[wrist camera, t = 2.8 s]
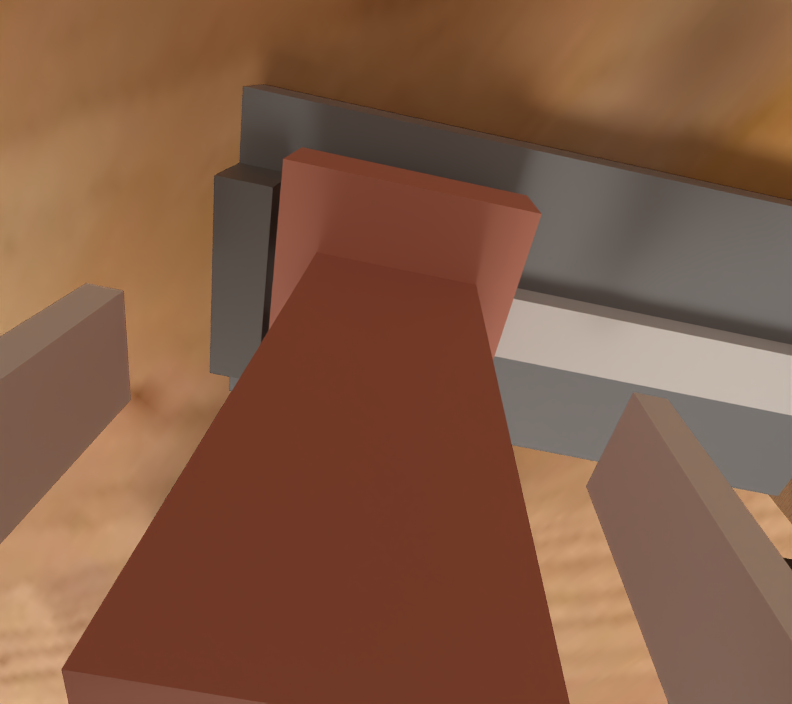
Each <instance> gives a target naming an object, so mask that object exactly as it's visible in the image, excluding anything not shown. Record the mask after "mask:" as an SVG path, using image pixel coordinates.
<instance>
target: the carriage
mask: <svg viewBox="0 0 792 704" xmlns="http://www.w3.org/2000/svg"><path fill="white" fill-rule="evenodd" d="M541 215H542V214H541V212H540V211H539V210H538V209H537V207H536V206H535V205H534V204H533V202H532V201H531V200H530V199H529V197H528V196H527V195H523V194H518V193H513V192H509V191H504V190H499V189H495V188H490V187H485V186H481V185H476V184H471V183H467V182H462V181H457V180H453V179H448V178H444V177H439V176H434V175H430V174H425V173H420V172H416V171H411V170H406V169H402V168H397V167H392V166H388V165H383V164H378V163H374V162H369V161H364V160H360V159H355V158H350V157H346V156H341V155H336V154H332V153H327V152H323V151H318V150H313V149H309V148H304V147H302V148H300V149H298V150H297V151H295V152H293V153H292V154H290V155H288V156H287V157H285V158H284V159H283V166H282V178H281V190H280V202H279V214H278V226H277V238H276V249H275V261H274V273H273V285H272V297H271V309H270V321H269V331H268V333H267V334H266V336H265V338H264V339H263V341H262V342H261V344H260V346H259V347H258V349H257V351H256V352H255V354H254V355H253V357H252V359H251V360H250V362H249V364H248V365H247V367H246V369H245V370H244V372H243V373H242V375H241V377H240V378H239V380H238V382H237V383H236V385H235V387H234V388H233V390H232V391H231V393H230V395H229V396H228V398H227V400H226V401H225V403H224V405H223V406H222V408H221V409H220V411H219V413H218V414H217V416H216V418H215V419H214V421H213V423H212V424H211V426H210V427H209V429H208V431H207V432H206V434H205V436H204V437H203V439H202V440H201V442H200V444H199V445H198V447H197V449H196V450H195V452H194V454H193V455H192V457H191V458H190V460H189V462H188V463H187V465H186V467H185V468H184V470H183V472H182V473H181V475H180V476H179V478H178V480H177V481H176V483H175V485H174V486H173V488H172V490H171V491H170V493H169V494H168V496H167V498H166V499H165V501H164V503H163V504H162V506H161V508H160V509H159V511H158V512H157V514H156V516H155V517H154V519H153V521H152V522H151V524H150V526H149V527H148V529H147V530H146V532H145V534H144V535H143V537H142V539H141V540H140V542H139V543H138V545H137V547H136V548H135V550H134V552H133V553H132V555H131V557H130V558H129V560H128V561H127V563H126V565H125V566H124V568H123V570H122V571H121V573H120V575H119V576H118V578H117V579H116V581H115V583H114V584H113V586H112V588H111V589H110V591H109V593H108V594H107V596H106V597H105V599H104V601H103V602H102V604H101V606H100V607H99V609H98V611H97V612H96V614H95V615H94V617H93V619H92V620H91V622H90V624H89V625H88V627H87V629H86V630H85V632H84V633H83V635H82V637H81V638H80V640H79V642H78V643H77V645H76V646H75V648H74V650H73V651H72V653H71V655H70V656H69V658H68V660H67V661H66V663H65V664H64V666H63V668H62V674H63V679H64V684H65V688H66V693H67V698H68V703H69V704H570V703H569V699H568V694H567V690H566V685H565V681H564V676H563V672H562V667H561V663H560V658H559V654H558V649H557V645H556V640H555V636H554V631H553V627H552V623H551V618H550V614H549V609H548V605H547V600H546V596H545V591H544V587H543V582H542V578H541V573H540V569H539V564H538V560H537V555H536V551H535V546H534V542H533V537H532V533H531V529H530V524H529V520H528V515H527V511H526V506H525V502H524V497H523V493H522V488H521V484H520V479H519V475H518V470H517V466H516V461H515V457H514V452H513V448H512V443H511V439H510V435H509V430H508V426H507V421H506V417H505V412H504V408H503V403H502V399H501V394H500V390H499V385H498V381H497V376H496V372H495V367H494V363H493V359H494V356H495V353H496V350H497V347H498V344H499V341H500V338H501V335H502V332H503V329H504V326H505V323H506V320H507V317H508V314H509V311H510V308H511V305H512V302H513V299H514V296H515V293H516V290H517V287H518V284H519V281H520V278H521V275H522V272H523V269H524V266H525V263H526V260H527V257H528V254H529V251H530V248H531V245H532V242H533V239H534V236H535V233H536V230H537V227H538V224H539V221H540V218H541Z"/></svg>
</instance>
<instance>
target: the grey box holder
mask: <svg viewBox="0 0 792 704" xmlns="http://www.w3.org/2000/svg"><path fill="white" fill-rule="evenodd" d="M768 495H769V494H768ZM769 496H770V497H771V498H772V500H773V501H774V502H775V503H776V505H777V506H778V507H779V508H780V510H781V511H782V512H783V513H784V515H785V516H786V517H787V518H788V520H789V521H790V522H791V523H792V478H791V480H790V481H789V482H788V484H787V485H786V486H785V487H784V489H783V490H782V491H781V493H780V494H779V495H778V496H775V495H769Z"/></svg>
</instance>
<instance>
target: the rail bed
mask: <svg viewBox="0 0 792 704" xmlns="http://www.w3.org/2000/svg"><path fill="white" fill-rule="evenodd" d="M302 147H304V148H309V149H313V150H318V151H323V152H327V153H332V154H336V155H341V156H346V157H350V158H355V159H360V160H364V161H369V162H374V163H378V164H383V165H388V166H392V167H397V168H402V169H406V170H411V171H416V172H420V173H425V174H430V175H434V176H439V177H444V178H448V179H453V180H457V181H462V182H467V183H471V184H476V185H481V186H485V187H490V188H495V189H499V190H504V191H509V192H513V193H518V194H523V195H527V196H528V197H529V199H530V200H531V201H532V202H533V204H534V205H535V206H536V207H537V209H538V210H539V211H540V212H541V214H542V215H541V218H540V221H539V224H538V227H537V230H536V233H535V236H534V239H533V242H532V245H531V248H530V251H529V254H528V257H527V260H526V263H525V266H524V269H523V272H522V275H521V278H520V281H519V284H518V287H517V290H516V293H515V296H514V299H513V302H512V305H511V308H510V311H509V314H508V317H507V320H506V323H505V326H504V329H503V332H502V335H501V338H500V341H499V344H498V347H497V350H496V353H495V356H494V359H493V363H494V367H495V372H496V376H497V381H498V385H499V390H500V394H501V399H502V403H503V408H504V412H505V417H506V421H507V426H508V430H509V435H510V439H511V443H512V445H514V446H519V447H525V448H530V449H535V450H540V451H545V452H551V453H556V454H561V455H566V456H572V457H577V458H582V459H587V460H592V461H598V462H599V460H600V458H601V456H602V454H603V452H604V450H605V448H606V446H607V444H608V442H609V440H610V438H611V436H612V434H613V432H614V430H615V428H616V426H617V424H618V422H619V420H620V418H621V416H622V414H623V412H624V410H625V408H626V406H627V404H628V402H629V400H630V398H631V396H632V394H633V392H635V393H640V394H645V395H650V396H655V397H660V398H665V399H668V400H669V402H670V403H671V404H672V406H673V407H674V409H675V410H676V411H677V413H678V414H679V416H680V417H681V418H682V420H683V421H684V422H685V424H686V425H687V427H688V428H689V429H690V431H691V432H692V433H693V435H694V436H695V438H696V439H697V440H698V442H699V443H700V444H701V446H702V447H703V449H704V450H705V451H706V453H707V454H708V455H709V457H710V458H711V460H712V461H713V462H714V464H715V465H716V466H717V468H718V469H719V471H720V472H721V473H722V475H723V476H724V477H725V479H726V480H727V482H728V483H729V484H730V486H731V487H733V488H738V489H743V490H749V491H754V492H759V493H764V494H769V495H775V496H778V495H779V494H780V493H781V491H782V490H783V489H784V487H785V486H786V485H787V484H788V482H789V481H790V480H791V478H792V200H788V199H783V198H778V197H774V196H769V195H765V194H760V193H756V192H751V191H747V190H742V189H738V188H733V187H728V186H724V185H719V184H715V183H710V182H706V181H701V180H697V179H692V178H687V177H683V176H678V175H674V174H669V173H665V172H660V171H656V170H651V169H646V168H642V167H637V166H633V165H628V164H624V163H619V162H615V161H610V160H606V159H601V158H596V157H592V156H587V155H583V154H578V153H574V152H569V151H565V150H560V149H555V148H551V147H546V146H542V145H537V144H533V143H528V142H524V141H519V140H514V139H510V138H505V137H501V136H496V135H492V134H487V133H483V132H478V131H474V130H469V129H464V128H460V127H455V126H451V125H446V124H442V123H437V122H433V121H428V120H423V119H419V118H414V117H410V116H405V115H401V114H396V113H392V112H387V111H383V110H378V109H373V108H369V107H364V106H360V105H355V104H351V103H346V102H342V101H337V100H332V99H328V98H323V97H319V96H314V95H310V94H305V93H301V92H296V91H291V90H287V89H282V88H278V87H273V86H269V85H264V84H263V85H251V86H243V98H242V120H241V142H240V163H238V164H236V165H234V166H232V167H230V168H228V169H226V170H224V171H222V172H220V173H218V174H216V175H214V213H213V256H212V300H211V343H210V373H213V374H218V375H223V376H228V377H230V384H229V391H232V390H233V388H234V387H235V385H236V383H237V382H238V380H239V378H240V377H241V375H242V373H243V372H244V370H245V369H246V367H247V365H248V364H249V362H250V360H251V359H252V357H253V355H254V354H255V352H256V351H257V349H258V347H259V346H260V344H261V342H262V341H263V339H264V338H265V336H266V334H267V333H268V331H269V321H270V309H271V297H272V285H273V273H274V261H275V249H276V238H277V226H278V214H279V202H280V190H281V178H282V166H283V159H284V158H285V157H287V156H288V155H290V154H292V153H293V152H295V151H297V150H298V149H300V148H302Z"/></svg>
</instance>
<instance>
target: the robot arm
mask: <svg viewBox="0 0 792 704" xmlns="http://www.w3.org/2000/svg"><path fill="white" fill-rule="evenodd" d="M130 400H131V395H130V380H129V365H128V350H127V335H126V320H125V305H124V291H123V290H118V289H113V288H108V287H103V286H98V285H93V284H88V283H85V284H84V285H82V286H81V287H79V288H77V289H76V290H74V291H73V292H71V293H69V294H68V295H66V296H65V297H63V298H61V299H60V300H58V301H56V302H55V303H53V304H52V305H50V306H48V307H47V308H45V309H44V310H42V311H40V312H39V313H37V314H36V315H34V316H32V317H31V318H29V319H28V320H26V321H24V322H23V323H21V324H20V325H18V326H16V327H15V328H13V329H11V330H10V331H8V332H7V333H5V334H3V335H2V336H0V544H1V543H2V542H3V540H4V539H5V538H6V537H7V536H8V535H9V534H10V533H11V532H12V530H13V529H14V528H15V527H16V526H17V525H18V524H19V523H20V522H21V521H22V519H23V518H24V517H25V516H26V515H27V514H28V513H29V512H30V511H31V509H32V508H33V507H34V506H35V505H36V504H37V503H38V502H39V501H40V499H41V498H42V497H43V496H44V495H45V494H46V493H47V492H48V491H49V490H50V488H51V487H52V486H53V485H54V484H55V483H56V482H57V481H58V480H59V478H60V477H61V476H62V475H63V474H64V473H65V472H66V471H67V470H68V469H69V467H70V466H71V465H72V464H73V463H74V462H75V461H76V460H77V459H78V457H79V456H80V455H81V454H82V453H83V452H84V451H85V450H86V449H87V447H88V446H89V445H90V444H91V443H92V442H93V441H94V440H95V439H96V438H97V436H98V435H99V434H100V433H101V432H102V431H103V430H104V429H105V428H106V426H107V425H108V424H109V423H110V422H111V421H112V420H113V419H114V418H115V416H116V415H117V414H118V413H119V412H120V411H121V410H122V409H123V408H124V407H125V405H126V404H127V403H128V402H129V401H130ZM586 487H587V490H588V492H589V495H590V497H591V500H592V503H593V505H594V508H595V511H596V513H597V516H598V519H599V521H600V524H601V526H602V529H603V532H604V534H605V537H606V540H607V542H608V545H609V548H610V550H611V553H612V555H613V558H614V561H615V563H616V566H617V569H618V571H619V574H620V577H621V579H622V582H623V584H624V587H625V590H626V592H627V595H628V598H629V600H630V603H631V606H632V608H633V611H634V614H635V616H636V619H637V621H638V624H639V627H640V629H641V632H642V635H643V637H644V640H645V643H646V645H647V648H648V650H649V653H650V656H651V658H652V661H653V664H654V666H655V669H656V672H657V674H658V677H659V679H660V682H661V685H662V687H663V690H664V693H665V695H666V698H667V701H668V703H669V704H792V559H787V558H783V557H782V556H781V555H780V553H779V552H778V550H777V549H776V548H775V546H774V545H773V543H772V542H771V541H770V539H769V538H768V537H767V535H766V534H765V532H764V531H763V530H762V528H761V527H760V526H759V524H758V523H757V521H756V520H755V519H754V517H753V516H752V515H751V513H750V512H749V510H748V509H747V508H746V506H745V505H744V504H743V502H742V501H741V499H740V498H739V497H738V495H737V494H736V493H735V491H734V490H733V488H732V487H731V486H730V484H729V483H728V482H727V480H726V479H725V477H724V476H723V475H722V473H721V472H720V471H719V469H718V468H717V466H716V465H715V464H714V462H713V461H712V460H711V458H710V457H709V455H708V454H707V453H706V451H705V450H704V449H703V447H702V446H701V444H700V443H699V442H698V440H697V439H696V438H695V436H694V435H693V433H692V432H691V431H690V429H689V428H688V427H687V425H686V424H685V422H684V421H683V420H682V418H681V417H680V416H679V414H678V413H677V411H676V410H675V409H674V407H673V406H672V404H671V403H670V402H669V400H668V399H665V398H660V397H655V396H650V395H645V394H640V393H635V392H633V394H632V396H631V398H630V400H629V402H628V404H627V406H626V408H625V410H624V412H623V414H622V416H621V418H620V420H619V422H618V424H617V426H616V428H615V430H614V432H613V434H612V436H611V438H610V440H609V442H608V444H607V446H606V448H605V450H604V452H603V454H602V456H601V458H600V460H599V462H598V464H597V466H596V468H595V470H594V472H593V474H592V476H591V478H590V480H589V482H588V484H587V485H586Z"/></svg>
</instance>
